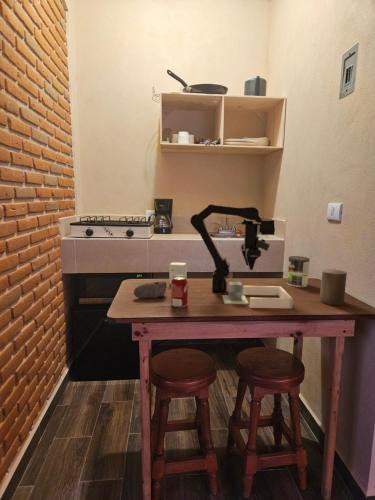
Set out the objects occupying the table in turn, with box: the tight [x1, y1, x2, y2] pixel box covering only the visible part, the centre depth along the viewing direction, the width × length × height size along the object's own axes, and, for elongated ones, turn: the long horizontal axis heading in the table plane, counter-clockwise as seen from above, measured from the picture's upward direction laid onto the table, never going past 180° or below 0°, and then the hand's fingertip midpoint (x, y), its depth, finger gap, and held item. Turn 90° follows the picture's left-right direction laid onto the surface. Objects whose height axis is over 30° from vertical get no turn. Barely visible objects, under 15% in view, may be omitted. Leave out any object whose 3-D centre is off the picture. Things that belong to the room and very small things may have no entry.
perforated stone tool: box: [133, 281, 167, 299], centre depth 139 cm, size 15×5×7 cm, turn 105°
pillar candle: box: [319, 268, 348, 306], centre depth 135 cm, size 10×10×15 cm
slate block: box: [228, 281, 243, 301], centre depth 136 cm, size 5×5×7 cm
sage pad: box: [222, 294, 249, 305], centre depth 137 cm, size 10×10×1 cm
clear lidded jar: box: [286, 255, 311, 288], centre depth 162 cm, size 10×10×14 cm
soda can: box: [170, 276, 189, 309], centre depth 128 cm, size 7×7×12 cm
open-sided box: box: [242, 285, 294, 309], centre depth 137 cm, size 17×18×4 cm
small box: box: [168, 261, 188, 285], centre depth 162 cm, size 8×6×10 cm
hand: (249, 267), depth 147 cm, fingers open, 9 cm apart
